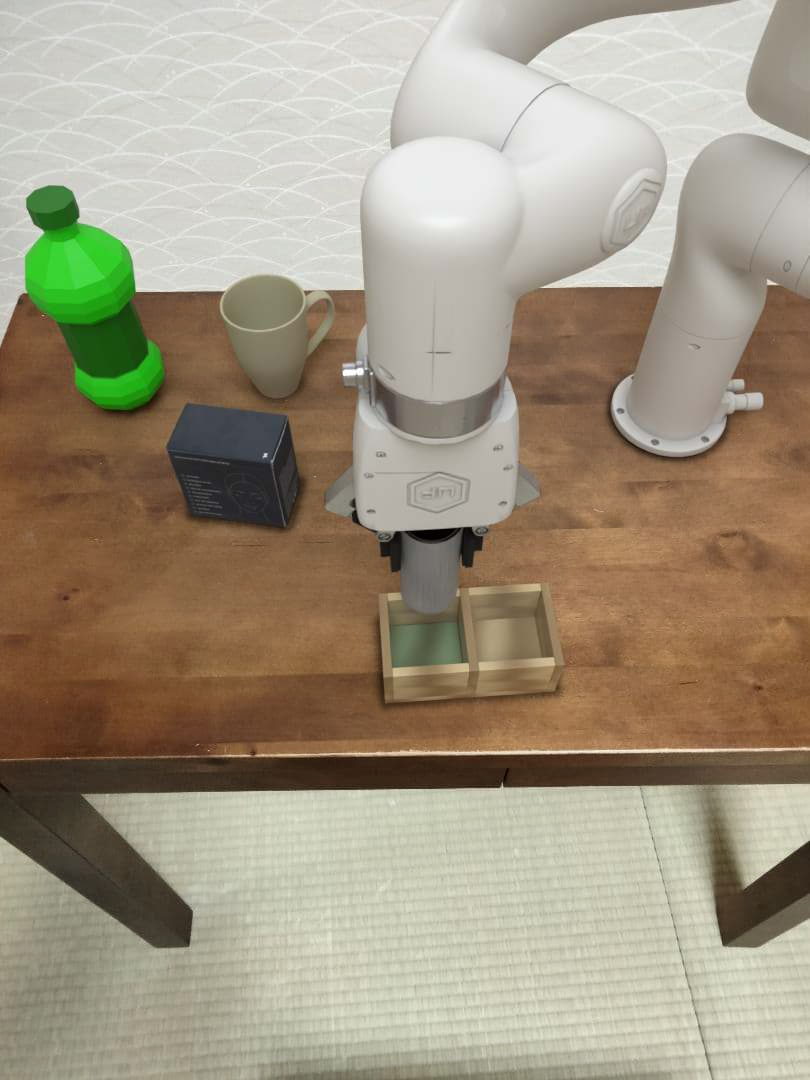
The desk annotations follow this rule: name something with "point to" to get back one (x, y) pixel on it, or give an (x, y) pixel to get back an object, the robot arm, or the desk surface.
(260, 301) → the mug
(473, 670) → the wooden divided tray
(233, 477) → the box
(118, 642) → the desk surface
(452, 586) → the grey hollow cylinder
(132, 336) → the plastic bottle
